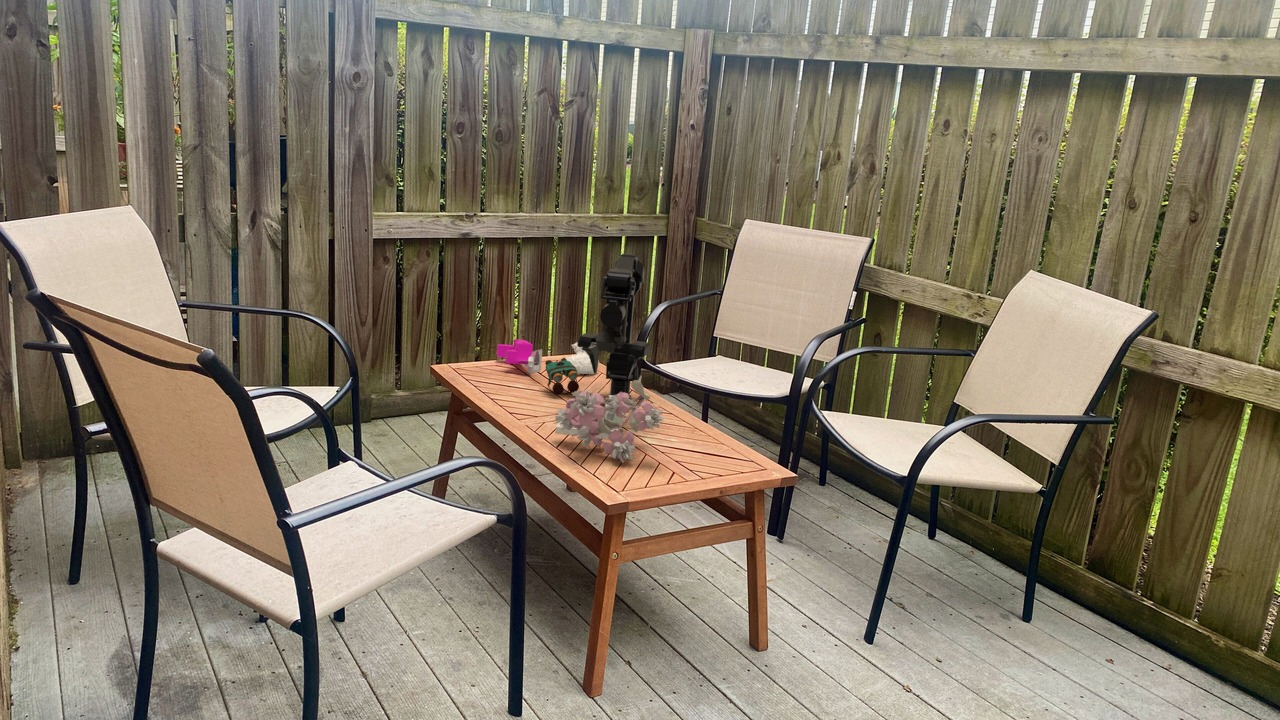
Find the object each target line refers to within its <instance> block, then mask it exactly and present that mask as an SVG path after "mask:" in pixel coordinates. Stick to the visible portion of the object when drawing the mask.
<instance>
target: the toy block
mask: <svg viewBox="0 0 1280 720" xmlns="http://www.w3.org/2000/svg"><path fill="white" fill-rule="evenodd" d="M533 347H534V344H533V343H531V342H529V341H527V340H525V339H514V338H513V344H499V343H497V347H496V348H497V350H496V356H497V357H499V358H505V361H504V362H505V363H507V364H517V365H524V364H528V362H520V361H528V358H529V357H530V356H531V352H533V349H534V348H533Z"/></svg>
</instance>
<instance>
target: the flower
mask: <svg viewBox="0 0 1280 720" xmlns="http://www.w3.org/2000/svg"><path fill="white" fill-rule="evenodd" d="M630 388H632V389H633V390H634V391H635V392H636V394H638V395H639V396H637V397H634V398H633V399H628V398H629V395H630V394H629V395H628V393H623V392H620V393H618V394H617V395H616V396H612V395H609V394H608V396H609V398H608V396H607V397H606V398H605V399H606V401H605V400H604V398H603V397H602V396H601V395H600V394H601V393H598V392H594V393H593V392H592V393H593V394H592V395H591V396H590V394H589V393H590V392H589V390H588V389H587V390H584V391H583V390H582V391H583V392H581V393H579V394H578V391H575V392H574V393H572V396H573V397H574V398H569V399H568V400H567V401H566V403H565V409H566V410H565V409H564V408H559V409H558V410H556V412H555V413H556V414H558V415H555V418H554V421H555V422H553V424H554V425H555V424H558V423H559V422H561V421H562V422H561V423H560V425H561V424H562V425H563V426H562V425H561V426H562V428H561V430H563V429H565V428H566V429H568V430H570V429H571V428H572V427H574V428H577V430H578V432H577V433H582V435H580V434H576V435H580V436H578V437H577V439H578V441H579V442H581V441H583V442H582V444H581V446H584V447H588V446H589V444H590V443H591V441H592V444H593V445H595V446H599V447H600V446H602V447H603V448H602V449H603V451H604V452H605V453H606V454H608V455H609V454H611V458H612V459H613V460H616V461H617V460H620V461H621V464H624V463H625V462H626V461H627V459H628V460H630V461H631V460H632V459H633V457H634V456H633V454H632V452H634V451H635V452H636V447H635V446H636V444H635V443H634V442H635V436H634V434H633V432H632V431H630V430H626V432H625V436H624V431H623V429H622V428H623V426H624V425H625V424H626V423H627V422H628V421H629V426H630V427H631V429H632V430H633V431H634V432H635V433H638V431H645V430H647V429H650V430H654V429H655V428H658V429H660V425H662V423H664V421H665V418H664V416H663V411H662V410H661V409H657V408H656V407H655V406H654V405H652V404H651V402H649V401H648V400H650V399H651V396H650V395H648V394H647V393H646V392H645V388H644V385H643V384H642V375H639V377H638V379H637V380H634V381H633V382H632V381H631V382H630ZM575 397H576V398H575ZM575 400H576V401H577V402H575V403H573V402H574V401H575ZM644 400H645V401H644ZM602 403H605V404H607V405H608V406H606V407H603V406H601V405H599V404H602ZM640 407H641V408H642V409H643V410H642V409H640ZM606 411H609V412H608V413H610V414H614V413H616V416H618V417H620V418H623V417H624V420H623V422H622V423H621V424H619V423H617V422H614V421H610V420H607V417H606V415H605V414H606ZM621 412H622V413H624V414H625V415H623V414H622V413H621ZM579 414H580V415H579ZM626 414H628V415H627V416H626ZM660 415H661V416H660ZM659 424H660V425H659ZM587 426H589V427H587ZM613 429H618V430H614V431H611V430H613ZM600 433H607V434H610V435H609V436H608V438H609V439H610V440H609V441H610V442H606V441H605V442H604V441H603V439H600V438H597V437H595V435H599V434H600ZM576 435H571V436H572V437H574V436H576Z"/></svg>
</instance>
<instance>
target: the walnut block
mask: <svg viewBox="0 0 1280 720" xmlns="http://www.w3.org/2000/svg"><path fill="white" fill-rule="evenodd" d="M589 394H590V396H591V395H592V394H593V392H589ZM599 394H600V395H601V396H602V397H603V398H604V400H605V401H607V399H605V398H607V394H602V393H599ZM605 404H606V403H602V404H599V405H601V406H603V407H605Z"/></svg>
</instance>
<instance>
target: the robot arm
mask: <svg viewBox="0 0 1280 720" xmlns="http://www.w3.org/2000/svg"><path fill="white" fill-rule="evenodd" d="M638 258H639V257H638V255H636V254H629V253H622V254H619V255H618V259H617V260H616V261H615V262H614V268H610V269H609V270H608V271H607V273H606V274H604V276H603V280H602V281H603V282H602V288H601V294H600V299H601V300H605V305H604V307H602V310H601V311H600V316H599V317H600V320H601V323H602V329H601V331H600V332H599V334H597V333H596V334H595V333H590V332H586V333H585V332H584V333H583V334H581V335H580V336H579V337H578V338H577V342H576V343H577V346H578V347H583V348H582V350H584V351H586V353H587V355H588V356H589V358H590V361H591V364H592V368H593V371H594V373H595V374H597V373H598V368H599V364H598V360H599V355H600V354H599V352H606V353H608V354H609V357H608V358H607V360H606V367H605V368H606V369H605V379H606V380H610V390H609V393H608V395H612V396H614V395H617V394H618V393H620V392H623V393H628V395H629V398H628V399H630V400H632V399H631V398H632V395H631V394H630V391H631V383H632V382H633V381H634V380H638V379H639V366H638V364H637V363H638V361H639V360H640V359H642V358H645V357H646V356H647V355H650V353H651V344H650V343H649V342H647V341H646V342H645V341H639V340H636V341H634V342H632V333H633V332H632V331H633V319H634V311H635V300H636V299H635V297H636V295H637V293H638V292H639V291H640V289H642V284H644V282H645V273H646V272H645V265H644V264H643V263H642V262H641V261H640V260H639V259H638ZM595 374H594V375H595ZM608 398H609V396H607V399H608Z"/></svg>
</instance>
